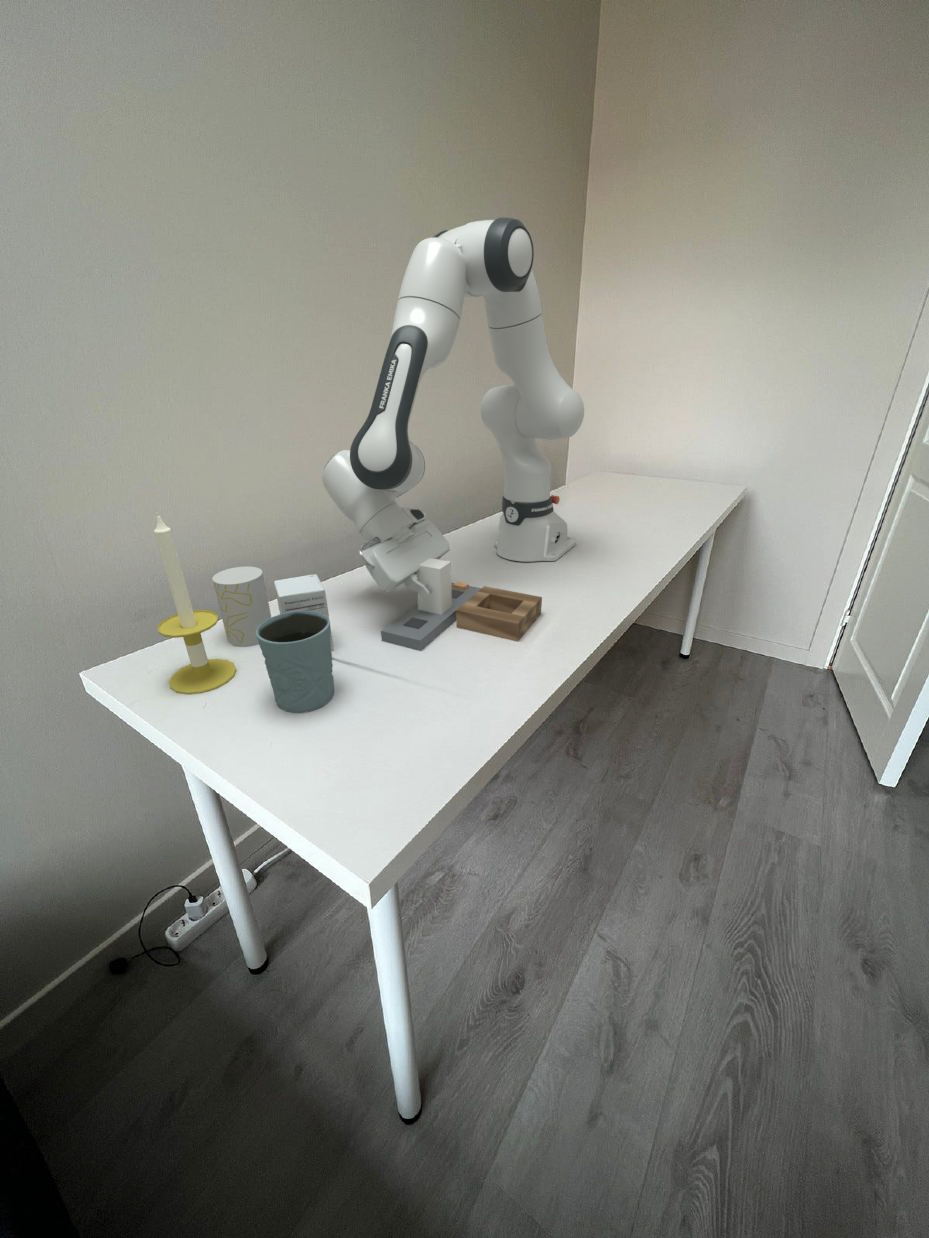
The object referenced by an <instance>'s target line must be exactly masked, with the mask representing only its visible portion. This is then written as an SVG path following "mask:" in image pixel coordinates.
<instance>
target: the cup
mask: <svg viewBox="0 0 929 1238" xmlns="http://www.w3.org/2000/svg"><path fill="white" fill-rule="evenodd" d="M211 579H212V583H213V588H214V592H215V595H216V599H217V602H218V603H217V605H218V607H219V608H218V609H219V612H220V614H221V619H222V620H221V621H222V624H223V627H224V632H225V636H226V640H227V642H228V644H229V645H231V646H234V647H239V648H240V647H241V648H243V647H244V648H245V647H252V646H258V645H259V642H258V639H257V636H256V630H257V628H258V626H259V625H260V624H262V623H263V622H264V621H266V620H268V619H270V618H272V614H271V608H270V603H269V598H268V594H267V589H266V584H265V583H266V582H265V577H264V573H263V570H262V569H261V568H259V567H255V566H245V565H244V566H236V567H231V568H226V569H224V570H221V571H219V572H217V573H216V574H214V575H213V577H212V578H211Z"/></svg>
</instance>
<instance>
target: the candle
mask: <svg viewBox="0 0 929 1238" xmlns="http://www.w3.org/2000/svg"><path fill="white" fill-rule="evenodd" d="M156 514H157V516H156V527H155V529H154V530H153V531H154V536H155V539H156V543H157V546H158V550H159V553H160V557H161V560H162V564H163V567H164V570H165V575H166V577H167V580H168V585H169V588H170V591H171V594H172V599H173V602H174V605H175V609H176V613H177V614H174V615H171V616H168V617H167V618H166V619H163V620H162V621H160V623H159V624H158V626H157V628H156V629H157V631H158V634H160V635H161V636H163V637H166V638H174V639H175V638H176V639H177V638H183V640H184V641H183V642H184V645H185V648H186V652H187V655H188V659H189V662H190V664H187V665H185V666H183V667H181V668H179V669H178V670H176V672H174V673H173V674H172V675H171V677H170V678H169V680H168V684H169V685H168V686H169V688H170V690H171V691H173V692H175V693H176V694H183V695H196V694H197V695H198V694H204V693H207V692H210V691H215V690H216V689H219V688H220V687H222V686H225V684H228V682H230V681H231V680H232V679H234V677H235V675H236V672H237V667H236V666H235V663H234V662H232V661H230V660H228V659H222V658H209V659H208V656H207V652H206V648H205V645H204V644H205V643H204V642H203V641H204V640H203V637H202V633H205V632H206V631H209V630H211V628H213V627H215V626H216V625H217V623H218V621H219V616H218V614H217V613H215V612H214V611H212V610H205V609H196V610H194V609H193V606H192V602H191V598H190V595H189V591H188V587H187V584H186V579H185V575H184V573H183V569H182V565H181V562H180V561H181V560H180V557H179V554H178V550H177V546H176V543H175V540H174V535H173V532H172V529H171V527H168V526H167V525H166V523H165V522H164V520H163V519H162V517H161V515H159V512H156Z"/></svg>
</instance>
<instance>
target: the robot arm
mask: <svg viewBox="0 0 929 1238" xmlns="http://www.w3.org/2000/svg"><path fill="white" fill-rule="evenodd" d="M534 253H535V252H534V243H533V240H532V236H531V234H530V232H529V231H528V229H527V228H526V226H525V225H524V223H523V222H522V221H521V220H520V219H516V218H513V217H504V216H502V217H497V218H496V219H484V220H475V221H472V222H471V221H470V222H468V223H466V224H464V225H461V226H458V227H457V226H456V227H454V228H452V229H449V230H445V229H444V230H441V231H440V232H437V233H436V234H435V235H433V236H431V237H427V238H425V239H423V240H421V241H419V242H418V243H417V245H416V246H415V247H414V248H413V252H412V254H411V256H410V258H409V261H408V264H407V266H406V268H405V272H404V275H403V278H402V281H401V286H400V289H399V294H398V297H397V301H396V307H395V312H394V316H393V317H394V318H393V323H392V328H391V335H390V338H389V341H388V345H387V349H386V352H385V355H384V359H383V362H382V366H381V370H380V373H379V377H378V381H377V385H376V387H375V392H374V395H373V399H372V402H371V407H370V410H369V413H368V416H367V418H366V419H365V421H364V423H363V424H362V426H361V428H360V429H359V431H358V432H357V433H356V434H355V436H354V438H353V440H352V442H351V445H350V449H343V450H339V451H338V452H337V453H335V454H334V455H332V457H330V459H329V460H328V461H327V462H326V465H325V466H324V469H323V471H322V476H321V481H322V484H323V486H324V489H325V490H326V492H327V494H328V495H329V496H330V498H331V500H332V501H333V502H334V503H335V505H336V507H338V509H339V510H340V511H341V513H342V514H343V515H344V516H345V517H347V518H348V519H349V520H350V521H352V522H353V524H354V525H355V528H356V529H357V531H358V533H359V534H360V536H362V538H363V539H364V541H366V542H364V543H363V544H360V545H359V550H358V551H359V552H358V553H359V554H358V555H359V557H360V559H361V560H362V561H363V563H364V565H365V568H366V570H367V571H368V572H369V574H370V576H371V578H372V579H373V580H374V581H375V583H376V584H377V586H378V587H379V588H380V590H382V591H384V592H386V593H390V592H391V591H393V590H394V589H396V588H398V587H399V586H401V585H402V584H404V586H405V587H406V588H408V589H410V590H411V591H413V592H415V593H417V592H418V594H419V595H420V596H421V597H422V598H423V599H425V598H426V597H428V596H429V595H430V594H431V593H432V590H431V589H430V587H429V586H428V585H423V584H422V583H420V582H419V581H417V579H418V578H417V577H416V572H417V571H418V570H420V566H419V565H420V564H422V563H423V562H425V561H426V560H428V559H430V558H433V559H438V560H441V559H442V558H443V557H444V556H445V555H446V554H448V552H449V551H450V549H451V548H450V544H449V541H448V540H447V539H446V537H445V536H444V535H443V533H442V532H441V531H440V530H439V529H438V527H437V526H436V525H435V524H434V523H433V522H432V521H430V520H427V518H428V515H427V513H426V512H425V511H424V510H423V509H422V508H410V507H409V508H408V507H401V506H400V505H399V503H397V501H396V499H397V498H399V497H401V496H402V495H404V494H405V493H408V492H409V491H411V490H412V489H414V488H415V487H416V486H417V485H418V484H419V483H420V482H421V481H422V479H423V477H424V475H425V469H426V462H425V457H424V455H423V452H422V451H421V450H420V448H419V447H418V446H417V445H415V444H414V443H413V442H412V441H411V440H410V437H409V424H410V420H411V417H412V413H413V408H414V405H415V401H416V397H417V394H418V390H419V386H420V383H421V380H422V379H423V377H424V375H425V373H427V371H429V370H431V369H434V368H437V367H439V366H440V365H442V364H444V363H445V362H446V361H447V360H448V358H449V356H450V355H451V352H452V350H453V346H454V344H455V341H456V339H457V335H458V331H459V327H460V324H461V323H460V322H461V318H462V313H463V308H464V307H463V306H464V303H465V302H464V301H465V300H464V299H465V298H478V297H483V299H484V307H485V316H486V322H487V326H488V332H489V337H490V342H491V346H492V351H493V357H494V362H495V364H496V366H497V367H498V369H499V370H500V371H501V372H502V373H504V374H505V375H506V376H508V377H509V379H511V381H512V382H513V383H514V384H510V383H509V384H504V385H499V386H495V387H492V388H490V389H488V391H486V392H485V394H484V396H483V398H482V400H481V405H480V417H481V420H482V422H483V424H484V426H485V427H486V428H487V429H488V430H489V431H490V432H491V434H492V435H493V437H494V440H495V442H496V443H497V445H498V448H499V450H500V454H501V458H502V463H503V480H504V481H503V483H504V485H503V496H502V497H501V498H502V499H501V500H502V501H501V512H502V514H501V515H500V516H499V523H498V532H497V540H495V541H494V546H495V548H496V551H495V552H496V555H498V556H499V557H500V558H503V559H506V560H509V561H514V562H515V561H516V562H524V563H525V562H526V563H527V562H541V561H543V562H555V561H557V560H559V559H560V558H561V557H562V556H564V555H565V554H566V553H567V552H569V551H570V550H571V549H572V548H573V547H574V546H576V545H577V543H576V540H575V539H573V538H572V537H570V536H568V524H567V521H565V520H564V519H563V518H562V517H561V516H560V515H559V514H557V513H556V512H555V511H554V504H555V505H559V503H560V499H561V498H560V496H559V495H553V494H552V495H551V484H552V464H551V462H550V460H549V458H547V456H545V455H544V453H542V452H541V451H540V449H539V447H538V445H537V442H536V439H541V440H549V441H550V440H551V441H552V440H562V439H567V438H568V439H569V438H572V437H573V436H574V435H575V434H577V432H578V430H579V429H580V428H581V426H582V424H583V421H584V418H585V404H584V402H583V399H582V397H581V395H580V393H578V392H577V391H576V390H575V389H573V388H572V387H571V386H569V384H568V383H567V382H566V381H565V380H564V378H563V377H562V376H561V374H560V372H559V371H558V369H557V368H556V366H555V363H554V362H553V361H554V360H553V359H552V357H551V354H550V350H549V346H548V342H547V335H546V331H545V323H544V316H543V312H542V311H543V309H542V305H541V303H542V302H541V297H540V293H539V289H538V288H539V287H538V285H537V280H536V278H535V273H534V271H533V265H534V256H535V255H534Z"/></svg>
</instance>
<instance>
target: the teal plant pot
mask: <svg viewBox="0 0 929 1238" xmlns="http://www.w3.org/2000/svg"><path fill="white" fill-rule="evenodd" d="M330 628H331V620H330V617H329V618H328V617H327V616H325V615H324V614H322V613H318V612H314V611H294V612H288V613H283V614H280V613H279V614H277V615H274V616H271V618H270V619H268V620H266V621H264V622H263V623H262V624H260V625H259V626H258V628H257V630H256V636H257V639H258V642H259V644H258V645H259V647H260V648H259V649H260V650H261V655H262V657H263V658H264V664H265V669H266V671H267V675H268V678H269V681H270V685H271V688H272V692H273V695H274V699H275V702H276V705H277V706H278V707H279V708H280V709H282V710H283V711H284V712H288V713H293V714H304V713H309V712H314V711H315V710H319V709H320V708H322V707H324V706H326V705H327V704H328V703H329V702H331V700H332V698H333V697H334V695H335V682H334V681H335V680H334V675H333V667H334V666H333V654H332V651H331V643H330V638H331V635H332V631H331V632H330Z"/></svg>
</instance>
